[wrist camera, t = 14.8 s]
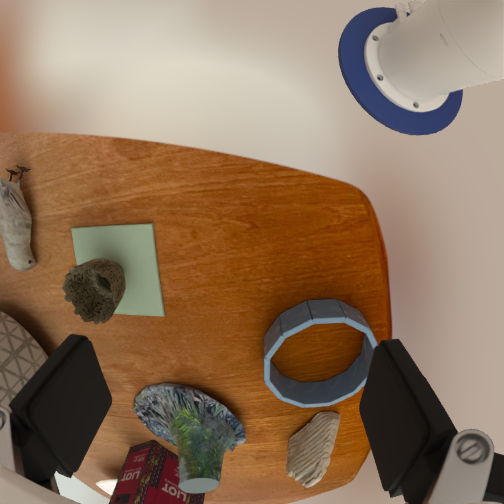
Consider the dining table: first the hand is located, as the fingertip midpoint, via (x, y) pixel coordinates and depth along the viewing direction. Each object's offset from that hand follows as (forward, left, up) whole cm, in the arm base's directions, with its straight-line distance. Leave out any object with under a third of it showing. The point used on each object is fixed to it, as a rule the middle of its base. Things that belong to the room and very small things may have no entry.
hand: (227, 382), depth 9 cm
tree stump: (+35, -12, -28) cm, 47 cm away
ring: (+19, +9, -28) cm, 35 cm away
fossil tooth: (+40, +10, -28) cm, 50 cm away
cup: (+7, -19, -28) cm, 34 cm away
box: (+54, -20, -28) cm, 64 cm away
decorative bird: (-2, -35, -28) cm, 45 cm away
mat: (+7, -19, -28) cm, 35 cm away
